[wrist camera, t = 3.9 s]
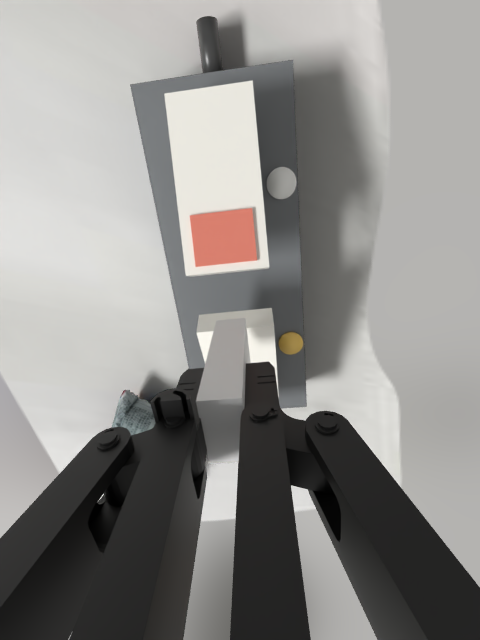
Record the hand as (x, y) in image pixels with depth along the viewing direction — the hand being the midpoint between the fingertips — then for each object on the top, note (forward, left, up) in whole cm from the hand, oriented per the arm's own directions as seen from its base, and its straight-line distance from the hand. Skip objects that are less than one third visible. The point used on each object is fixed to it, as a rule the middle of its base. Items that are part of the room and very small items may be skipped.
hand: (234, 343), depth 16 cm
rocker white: (-7, 0, -4) cm, 8 cm away
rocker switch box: (-3, 0, -10) cm, 11 cm away
